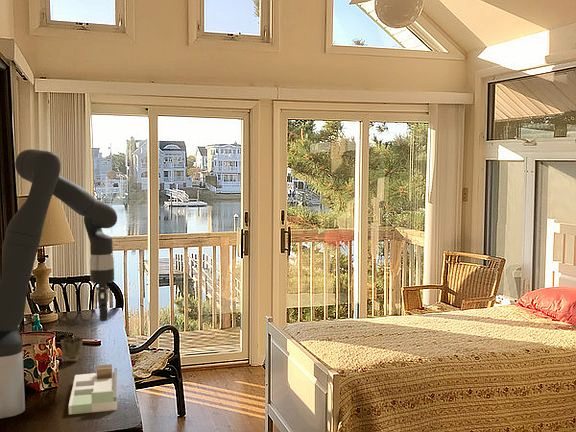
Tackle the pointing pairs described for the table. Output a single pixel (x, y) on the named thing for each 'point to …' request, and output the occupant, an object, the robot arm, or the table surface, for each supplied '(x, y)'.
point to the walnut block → (104, 371)
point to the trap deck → (93, 394)
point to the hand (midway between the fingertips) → (103, 319)
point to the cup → (71, 348)
